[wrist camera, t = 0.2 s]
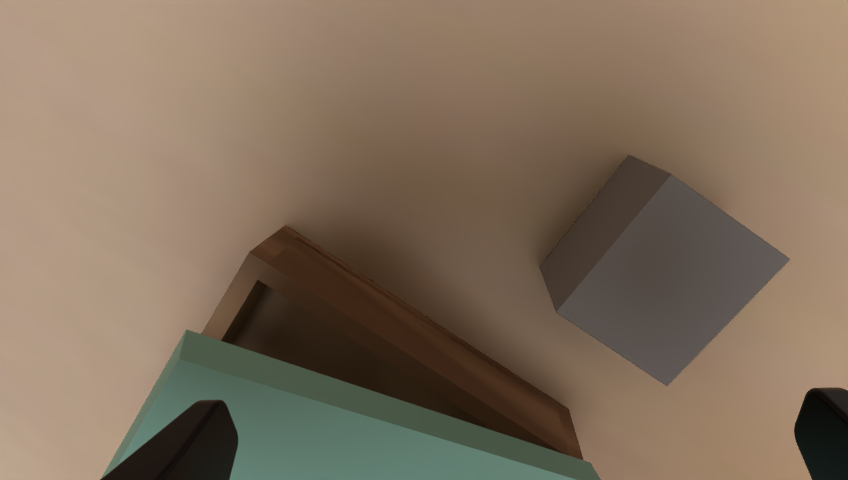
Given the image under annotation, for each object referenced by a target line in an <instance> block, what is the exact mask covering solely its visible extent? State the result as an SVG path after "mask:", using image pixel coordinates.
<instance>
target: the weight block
mask: <svg viewBox="0 0 848 480" xmlns="http://www.w3.org/2000/svg"><path fill="white" fill-rule="evenodd" d="M789 260H790V258H788V257H787V256H785V255H784V254H783V253H781V252H780V251H778V250H777V249H776V248H774V247H773V246H771V245H770V244H769V243H767V242H766V241H764V240H763V239H762V238H760V237H759V236H757V235H756V234H755V233H753V232H752V231H750V230H749V229H747V228H746V227H745V226H743V225H742V224H740V223H739V222H738V221H736V220H735V219H733V218H732V217H731V216H729V215H728V214H726V213H725V212H724V211H722V210H721V209H719V208H718V207H717V206H715V205H714V204H712V203H711V202H710V201H708V200H707V199H705V198H704V197H703V196H701V195H700V194H698V193H697V192H696V191H694V190H693V189H691V188H690V187H689V186H687V185H686V184H684V183H683V182H682V181H680V180H679V179H677V178H676V177H674V176H673V175H672V174H670V173H667V172H665V171H663V170H661V169H659V168H656V167H654V166H652V165H650V164H648V163H646V162H643V161H641V160H639V159H637V158H635V157H632V156H630V155H628V156H627V158H626V159H625V160H624V161H623V163H622V164H621V165H620V166H619V168H618V169H617V170H616V171H615V173H614V174H613V175H612V176H611V178H610V179H609V180H608V182H607V183H606V184H605V185H604V187H603V188H602V189H601V190H600V192H599V193H598V194H597V195H596V197H595V198H594V199H593V200H592V202H591V203H590V204H589V205H588V207H587V208H586V209H585V210H584V212H583V213H582V214H581V215H580V217H579V218H578V219H577V220H576V222H575V223H574V224H573V225H572V227H571V228H570V229H569V230H568V232H567V233H566V234H565V235H564V237H563V238H562V239H561V240H560V242H559V243H558V244H557V245H556V247H555V248H554V249H553V250H552V252H551V253H550V254H549V255H548V257H547V258H546V259H545V261H544V262H543V263H542V264H541V266H540V269H541V272H542V275H543V277H544V280H545V283H546V286H547V289H548V291H549V294H550V297H551V300H552V302H553V305H554V308H555V311H556V313H558V314H559V315H561V316H562V317H564V318H565V319H567V320H568V321H570V322H571V323H573V324H574V325H576V326H577V327H579V328H580V329H582V330H583V331H585V332H586V333H588V334H589V335H591V336H592V337H594V338H595V339H597V340H598V341H600V342H601V343H603V344H604V345H606V346H607V347H609V348H610V349H612V350H613V351H615V352H616V353H618V354H619V355H621V356H622V357H624V358H625V359H627V360H628V361H630V362H631V363H633V364H634V365H636V366H637V367H639V368H640V369H642V370H643V371H645V372H646V373H648V374H649V375H651V376H652V377H654V378H655V379H657V380H658V381H660V382H661V383H663V384H664V385H666V386H668V385H669V384H670V383H671V382H672V381H673V379H674V378H675V377H676V376H677V375H678V374H679V373H680V372H681V371H682V370H683V369H684V368H685V367H686V366H687V365H688V364H689V363H690V362H691V361H692V360H693V359H694V358H695V357H696V356H697V355H698V354H699V353H700V352H701V351H702V350H703V349H704V348H705V347H706V345H707V344H708V343H709V342H710V341H711V340H712V339H713V338H714V337H715V336H716V335H717V334H718V333H719V332H720V331H721V330H722V329H723V328H724V327H725V326H726V325H727V324H728V323H729V322H730V321H731V320H732V319H733V318H734V317H735V316H736V315H737V314H738V312H739V311H740V310H741V309H742V308H743V307H744V306H745V305H746V304H747V303H748V302H749V301H750V300H751V299H752V298H753V297H754V296H755V295H756V294H757V293H758V292H759V291H760V290H761V289H762V288H763V287H764V286H765V285H766V284H767V283H768V282H769V281H770V280H771V278H772V277H773V276H774V275H775V274H776V273H777V272H778V271H779V270H780V269H781V268H782V267H783V266H784V265H785V264H786V263H787V262H788V261H789Z"/></svg>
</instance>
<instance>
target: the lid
mask: <svg viewBox="0 0 848 480" xmlns="http://www.w3.org/2000/svg"><path fill="white" fill-rule="evenodd" d="M218 399H219V400H223V401H224V402H225V403H226V405H227V407H228V409H229V412H230V415H231V417H232V420H233V422H234V425H235V427H236V430H237V433H238V448H237V452H236V456H235V460H234V464H233V468H232V472H231V476H230V480H600V478H599V476H598V475H597V473H596V471H595V470H594V468H593V466H592V465H591V463H590V462H587V461H584V460H581V459H578V458H575V457H571V456H568V455H565V454H562V453H559V452H556V451H553V450H550V449H547V448H544V447H541V446H538V445H535V444H532V443H529V442H526V441H523V440H520V439H517V438H514V437H511V436H508V435H505V434H502V433H499V432H496V431H493V430H490V429H487V428H484V427H481V426H477V425H474V424H471V423H468V422H465V421H462V420H459V419H456V418H453V417H450V416H447V415H444V414H441V413H438V412H435V411H432V410H429V409H426V408H423V407H420V406H417V405H414V404H411V403H408V402H405V401H402V400H399V399H396V398H393V397H390V396H386V395H383V394H380V393H377V392H374V391H371V390H368V389H365V388H362V387H359V386H356V385H353V384H350V383H347V382H344V381H341V380H338V379H335V378H332V377H329V376H326V375H323V374H320V373H317V372H314V371H311V370H308V369H305V368H302V367H299V366H296V365H292V364H289V363H286V362H283V361H280V360H277V359H274V358H271V357H268V356H265V355H262V354H259V353H256V352H253V351H250V350H247V349H244V348H241V347H238V346H235V345H232V344H229V343H226V342H223V341H220V340H217V339H214V338H211V337H208V336H205V335H202V334H198V333H195V332H192V331H189V330H186V331H185V333H184V335H183V337H182V338H181V340H180V342H179V344H178V345H177V347H176V349H175V351H174V352H173V354H172V356H171V358H170V359H169V361H168V363H167V365H166V366H165V368H164V370H163V372H162V373H161V375H160V377H159V379H158V380H157V382H156V384H155V385H154V387H153V389H152V391H151V392H150V394H149V396H148V398H147V399H146V401H145V403H144V405H143V406H142V408H141V410H140V412H139V413H138V415H137V417H136V419H135V420H134V422H133V424H132V426H131V427H130V429H129V431H128V433H127V434H126V436H125V438H124V440H123V441H122V443H121V445H120V447H119V448H118V450H117V452H116V454H115V455H114V457H113V459H112V461H111V462H110V464H109V466H108V468H107V469H106V471H105V473H104V475H103V476H102V478H103V477H104V476H105V475H106V474H108V473H109V472H110V471H111V470H113V469H114V468H115V467H116V466H118V465H119V464H120V463H121V462H122V461H124V460H125V459H126V458H127V457H129V456H130V455H131V454H132V453H133V452H135V451H136V450H137V449H138V448H140V447H141V446H142V445H143V444H144V443H146V442H147V441H148V440H149V439H151V438H152V437H153V436H154V435H156V434H157V433H158V432H159V431H160V430H162V429H163V428H164V427H165V426H167V425H168V424H169V423H170V422H171V421H173V420H174V419H175V418H176V417H178V416H179V415H180V414H181V413H183V412H184V411H185V410H186V409H187V408H189V407H190V406H191V405H192V404H194V403H195V402H197V401H199V400H218ZM102 478H101V479H102Z"/></svg>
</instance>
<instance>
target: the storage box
mask: <svg viewBox="0 0 848 480" xmlns="http://www.w3.org/2000/svg"><path fill="white" fill-rule="evenodd" d="M202 335H205V336H208V337H211V338H214V339H217V340H220V341H223V342H226V343H229V344H232V345H235V346H238V347H241V348H244V349H247V350H250V351H253V352H256V353H259V354H262V355H265V356H268V357H271V358H274V359H277V360H280V361H283V362H286V363H289V364H292V365H296V366H299V367H302V368H305V369H308V370H311V371H314V372H317V373H320V374H323V375H326V376H329V377H332V378H335V379H338V380H341V381H344V382H347V383H350V384H353V385H356V386H359V387H362V388H365V389H368V390H371V391H374V392H377V393H380V394H383V395H386V396H390V397H393V398H396V399H399V400H402V401H405V402H408V403H411V404H414V405H417V406H420V407H423V408H426V409H429V410H432V411H435V412H438V413H441V414H444V415H447V416H450V417H453V418H456V419H459V420H462V421H465V422H468V423H471V424H474V425H477V426H481V427H484V428H487V429H490V430H493V431H496V432H499V433H502V434H505V435H508V436H511V437H514V438H517V439H520V440H523V441H526V442H529V443H532V444H535V445H538V446H541V447H544V448H547V449H550V450H553V451H556V452H559V453H562V454H565V455H568V456H571V457H575V458H578V459H581V460H583V457H582V453H581V450H580V447H579V443H578V440H577V436H576V433H575V430H574V426H573V423H572V419H571V416H570V412H569V409H567V408H566V407H564V406H562V405H561V404H559V403H558V402H556V401H555V400H553V399H552V398H550V397H549V396H547V395H546V394H544V393H542V392H541V391H539V390H538V389H536V388H535V387H533V386H532V385H530V384H529V383H527V382H526V381H524V380H522V379H521V378H519V377H518V376H516V375H515V374H513V373H512V372H510V371H509V370H507V369H506V368H504V367H502V366H501V365H499V364H498V363H496V362H495V361H493V360H492V359H490V358H489V357H487V356H486V355H484V354H482V353H481V352H479V351H478V350H476V349H475V348H473V347H472V346H470V345H469V344H467V343H466V342H464V341H462V340H461V339H459V338H458V337H456V336H455V335H453V334H452V333H450V332H449V331H447V330H446V329H444V328H442V327H441V326H439V325H438V324H436V323H435V322H433V321H432V320H430V319H429V318H427V317H426V316H424V315H422V314H421V313H419V312H418V311H416V310H415V309H413V308H412V307H410V306H409V305H407V304H406V303H404V302H402V301H401V300H399V299H398V298H396V297H395V296H393V295H392V294H390V293H389V292H387V291H386V290H384V289H382V288H381V287H379V286H378V285H376V284H375V283H373V282H372V281H370V280H369V279H367V278H365V277H364V276H362V275H361V274H359V273H358V272H356V271H355V270H353V269H352V268H350V267H349V266H347V265H345V264H344V263H342V262H341V261H339V260H338V259H336V258H335V257H333V256H332V255H330V254H329V253H327V252H325V251H324V250H322V249H321V248H319V247H318V246H316V245H315V244H313V243H312V242H310V241H309V240H307V239H305V238H304V237H302V236H301V235H299V234H298V233H296V232H295V231H293V230H292V229H290V228H289V227H287V226H284V227H282V228H281V229H280V230H278V231H277V232H276V233H274V234H273V235H272V236H270V237H269V238H268V239H266V240H265V241H264V242H262V243H261V244H260V245H258V246H257V247H256V248H254V249H253V250H252V251H250V252H249V254H248V255H247V257H246V259H245V260H244V262H243V264H242V266H241V267H240V269H239V271H238V272H237V274H236V276H235V278H234V279H233V281H232V283H231V284H230V286H229V288H228V289H227V291H226V293H225V295H224V296H223V298H222V300H221V301H220V303H219V305H218V307H217V308H216V310H215V312H214V313H213V315H212V317H211V319H210V320H209V322H208V324H207V325H206V327H205V329H204V330H203V332H202Z"/></svg>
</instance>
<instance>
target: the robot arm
mask: <svg viewBox="0 0 848 480" xmlns="http://www.w3.org/2000/svg"><path fill="white" fill-rule="evenodd" d="M794 433H795V439H796V442H797V445H798V447H799V450H800V452H801V454H802V457H803V459H804V461H805V464H806V466H807V469H808V471H809V473H810V476H811V478H812V480H848V391H847V390H845V389H843V388H813V389H811V390H809V391H808V392H807V394H806V396H805V398H804V401H803V404H802V407H801V409H800V412H799V415H798V418H797V420H796V423H795V428H794ZM237 448H238V433H237V430H236V427H235V425H234V422H233V420H232V417H231V415H230V412H229V409H228V407H227V405H226V403H225V402H224V401H223V400H219V399H218V400H199V401H197V402H195V403H194V404H192V405H191V406H190V407H189V408H187V409H186V410H185V411H184V412H183V413H181V414H180V415H179V416H178V417H176V418H175V419H174V420H173V421H171V422H170V423H169V424H168V425H167V426H165V427H164V428H163V429H162V430H160V431H159V432H158V433H157V434H156V435H154V436H153V437H152V438H151V439H149V440H148V441H147V442H146V443H144V444H143V445H142V446H141V447H140V448H138V449H137V450H136V451H135V452H133V453H132V454H131V455H130V456H129V457H127V458H126V459H125V460H124V461H122V462H121V463H120V464H119V465H118V466H116V467H115V468H114V469H113V470H111V471H110V472H109V473H108V474H106V475H105V476H104V477H103V478H102V479H100V480H230V476H231V472H232V468H233V464H234V460H235V456H236V452H237Z"/></svg>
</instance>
